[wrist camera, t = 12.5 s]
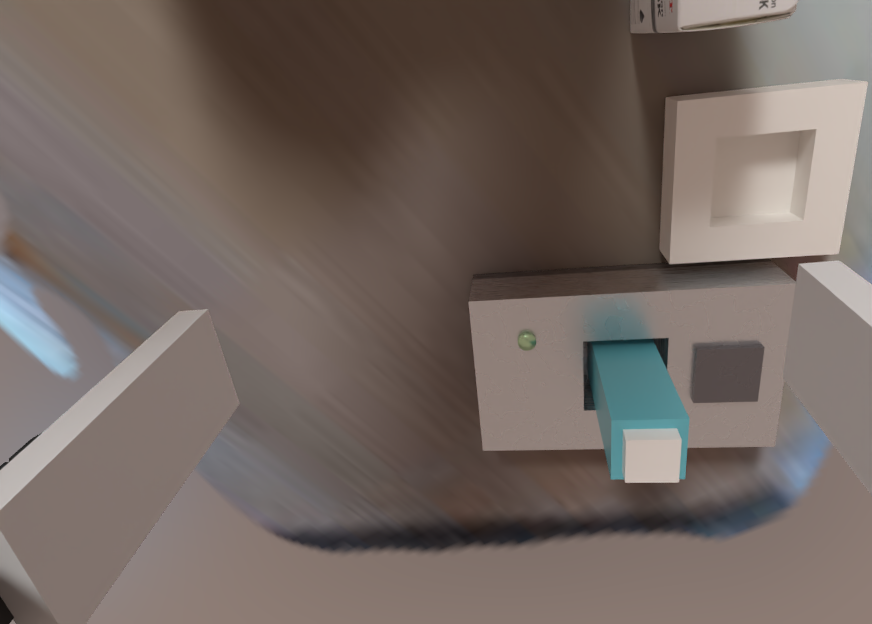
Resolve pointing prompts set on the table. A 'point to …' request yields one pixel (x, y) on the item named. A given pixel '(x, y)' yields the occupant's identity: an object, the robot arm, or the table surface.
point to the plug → (638, 411)
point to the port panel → (623, 320)
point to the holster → (758, 171)
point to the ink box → (704, 14)
